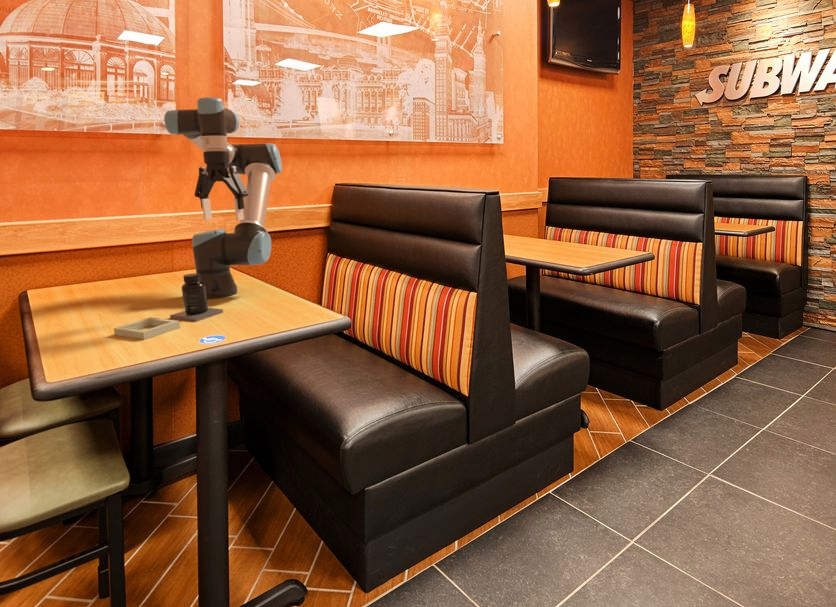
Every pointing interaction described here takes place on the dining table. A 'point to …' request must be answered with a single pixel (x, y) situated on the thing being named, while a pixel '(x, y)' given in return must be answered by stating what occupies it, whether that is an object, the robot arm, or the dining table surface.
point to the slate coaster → (196, 315)
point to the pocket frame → (133, 331)
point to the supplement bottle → (194, 294)
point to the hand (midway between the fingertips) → (223, 219)
